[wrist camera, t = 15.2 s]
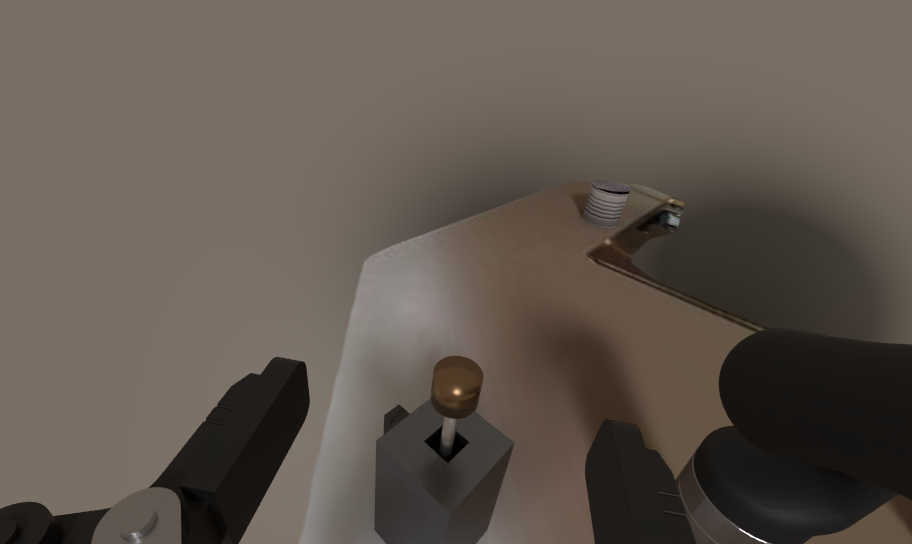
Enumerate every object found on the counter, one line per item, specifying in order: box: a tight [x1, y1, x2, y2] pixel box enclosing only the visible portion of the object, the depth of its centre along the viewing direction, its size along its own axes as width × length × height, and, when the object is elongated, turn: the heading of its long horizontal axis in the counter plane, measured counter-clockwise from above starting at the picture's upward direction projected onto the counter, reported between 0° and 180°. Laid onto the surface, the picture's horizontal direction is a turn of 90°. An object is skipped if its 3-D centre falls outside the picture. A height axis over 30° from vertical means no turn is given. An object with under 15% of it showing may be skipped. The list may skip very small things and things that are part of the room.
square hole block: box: [375, 399, 514, 544], centre depth 42 cm, size 12×9×16 cm
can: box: [582, 181, 632, 229], centre depth 125 cm, size 11×11×12 cm
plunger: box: [431, 356, 483, 463], centre depth 38 cm, size 7×7×20 cm
